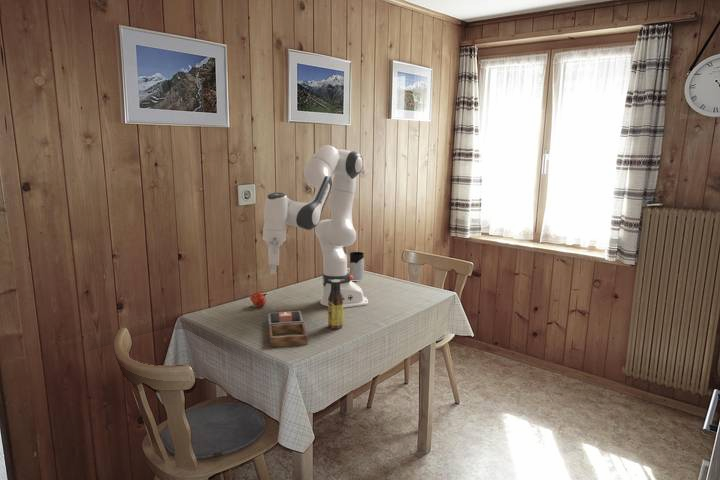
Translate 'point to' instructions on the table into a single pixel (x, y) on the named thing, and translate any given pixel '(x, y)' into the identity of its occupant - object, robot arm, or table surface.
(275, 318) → the grey box
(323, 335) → the table surface
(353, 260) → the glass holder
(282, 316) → the letter cube
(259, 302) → the pomegranate
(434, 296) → the table surface
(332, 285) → the sauce bottle
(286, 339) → the walnut box
